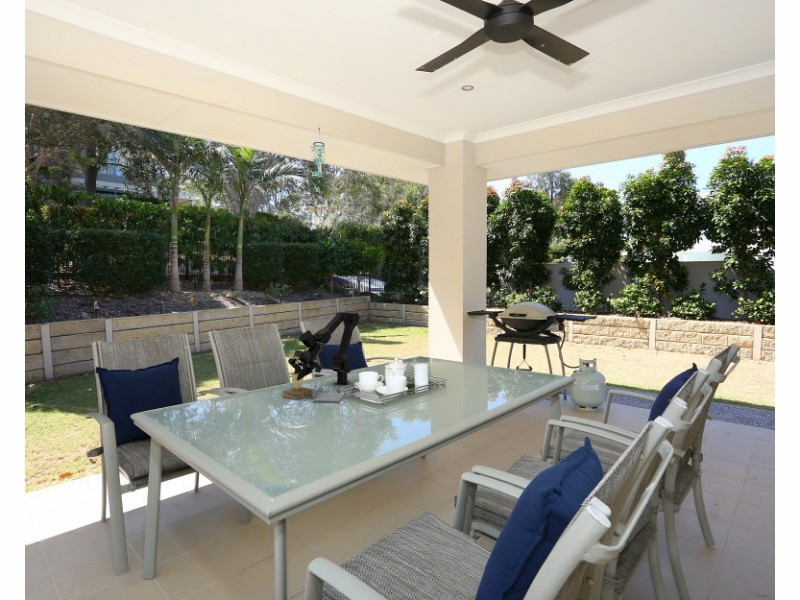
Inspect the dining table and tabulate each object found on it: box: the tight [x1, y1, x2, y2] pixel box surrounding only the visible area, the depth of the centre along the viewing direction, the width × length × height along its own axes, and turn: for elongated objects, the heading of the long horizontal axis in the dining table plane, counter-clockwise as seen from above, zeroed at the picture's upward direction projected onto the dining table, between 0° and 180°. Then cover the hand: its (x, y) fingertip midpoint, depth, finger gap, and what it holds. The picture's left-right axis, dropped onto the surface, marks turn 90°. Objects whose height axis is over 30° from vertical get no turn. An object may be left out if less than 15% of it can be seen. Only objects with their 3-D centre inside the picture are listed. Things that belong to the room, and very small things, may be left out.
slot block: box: [282, 386, 314, 401], centre depth 223 cm, size 10×10×3 cm
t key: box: [291, 372, 304, 391], centre depth 223 cm, size 5×2×10 cm, turn 146°
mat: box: [313, 392, 345, 404], centre depth 218 cm, size 12×12×1 cm
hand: (295, 379), depth 221 cm, fingers closed on t key, 2 cm apart
